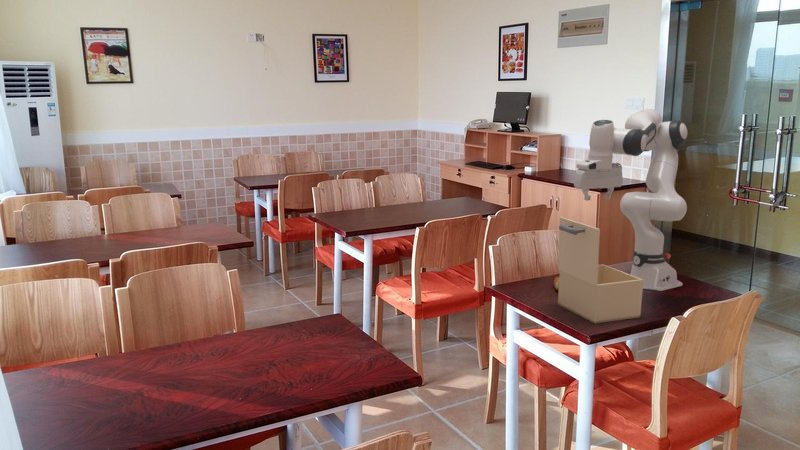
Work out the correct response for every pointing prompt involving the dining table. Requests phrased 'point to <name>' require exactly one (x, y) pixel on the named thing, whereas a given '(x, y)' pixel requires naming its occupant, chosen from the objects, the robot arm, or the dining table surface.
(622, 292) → the carton
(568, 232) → the flap
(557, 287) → the croissant
